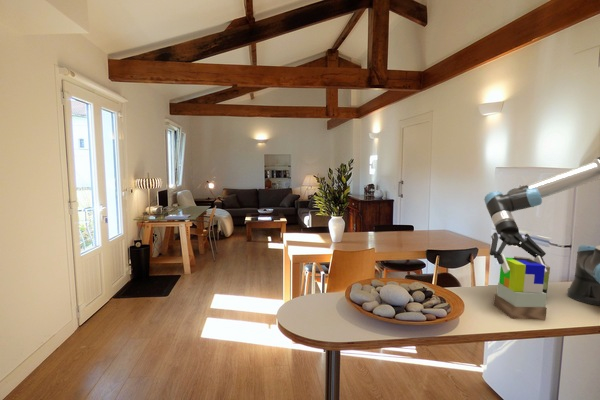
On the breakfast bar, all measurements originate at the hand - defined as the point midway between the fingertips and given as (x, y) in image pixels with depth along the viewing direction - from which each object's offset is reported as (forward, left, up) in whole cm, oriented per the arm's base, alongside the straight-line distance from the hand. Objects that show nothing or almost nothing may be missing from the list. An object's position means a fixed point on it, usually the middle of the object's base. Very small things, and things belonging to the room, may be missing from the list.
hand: (525, 272), depth 124 cm
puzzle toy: (0, -3, -7) cm, 7 cm away
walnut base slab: (-1, -2, -17) cm, 17 cm away
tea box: (-18, -23, -16) cm, 34 cm away
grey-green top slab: (0, -2, -12) cm, 12 cm away
